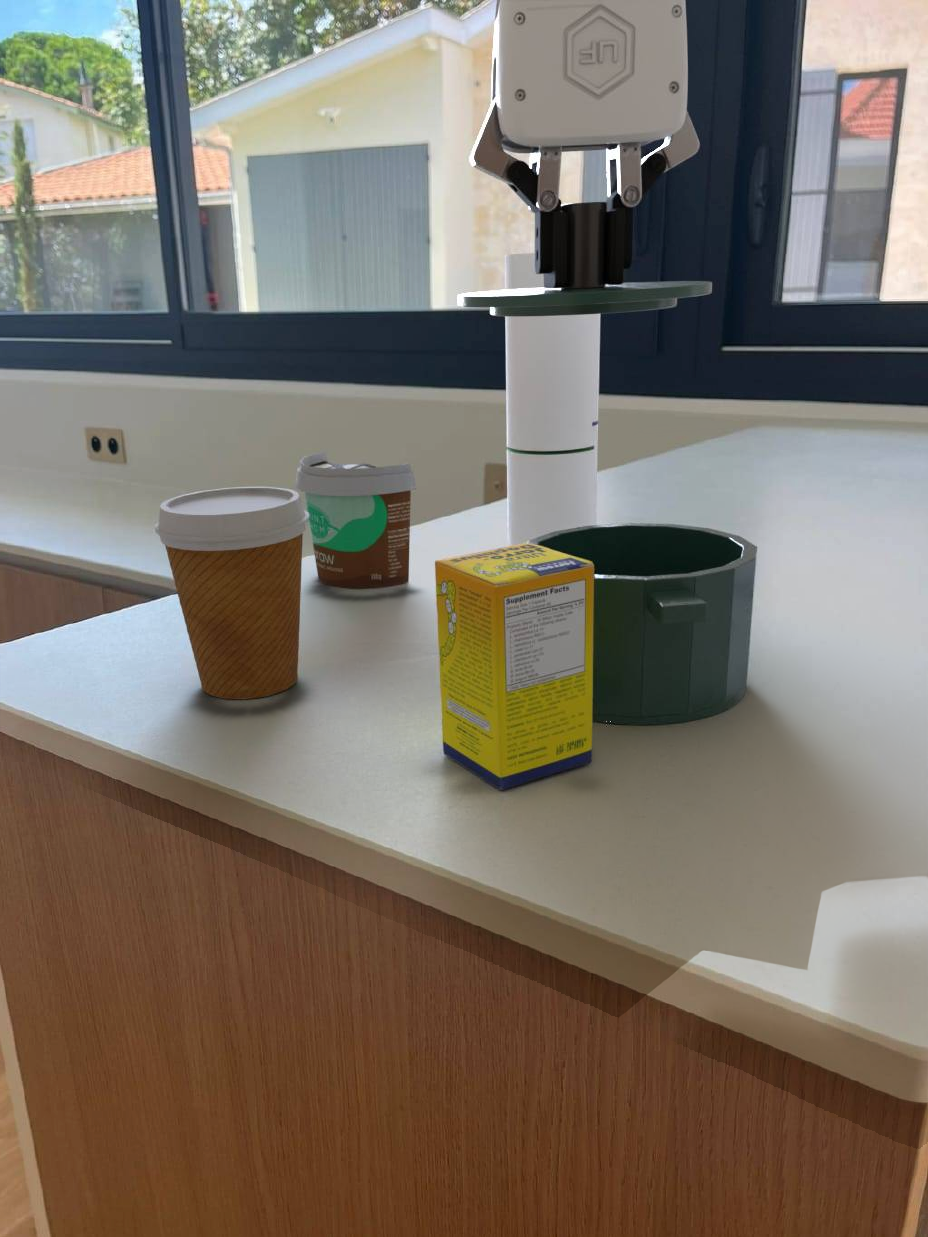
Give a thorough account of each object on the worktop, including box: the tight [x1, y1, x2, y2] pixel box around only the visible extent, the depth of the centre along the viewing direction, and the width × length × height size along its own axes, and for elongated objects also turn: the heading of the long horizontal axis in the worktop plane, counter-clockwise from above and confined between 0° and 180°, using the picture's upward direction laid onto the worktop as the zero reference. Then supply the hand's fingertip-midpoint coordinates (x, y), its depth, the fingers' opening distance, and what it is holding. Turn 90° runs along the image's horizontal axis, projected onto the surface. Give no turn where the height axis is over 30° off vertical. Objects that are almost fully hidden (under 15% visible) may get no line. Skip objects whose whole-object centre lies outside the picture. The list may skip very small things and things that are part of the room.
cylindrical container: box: [504, 252, 601, 547], centre depth 87 cm, size 7×7×25 cm
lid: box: [457, 201, 713, 317], centre depth 64 cm, size 15×15×6 cm
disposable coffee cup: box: [154, 486, 309, 700], centre depth 70 cm, size 10×10×12 cm
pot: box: [527, 522, 758, 726], centre depth 67 cm, size 14×19×8 cm
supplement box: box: [434, 543, 594, 791], centre depth 57 cm, size 6×6×11 cm
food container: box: [295, 450, 417, 589], centre depth 93 cm, size 12×6×10 cm, turn 40°
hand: (582, 282), depth 65 cm, fingers closed on lid, 2 cm apart
